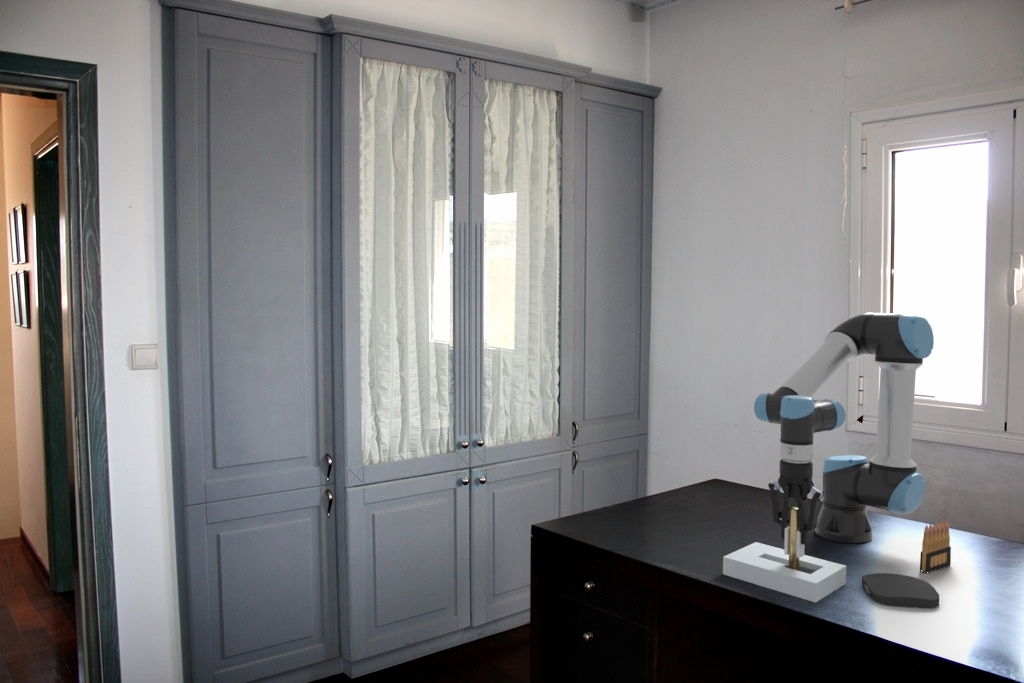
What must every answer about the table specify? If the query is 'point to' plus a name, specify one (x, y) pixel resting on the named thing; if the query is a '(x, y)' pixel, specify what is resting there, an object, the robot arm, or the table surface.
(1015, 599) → the table surface
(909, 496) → the robot arm
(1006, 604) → the table surface
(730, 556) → the keyhole plate
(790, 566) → the brass peg
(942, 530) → the ammunition clip
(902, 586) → the media streaming box
